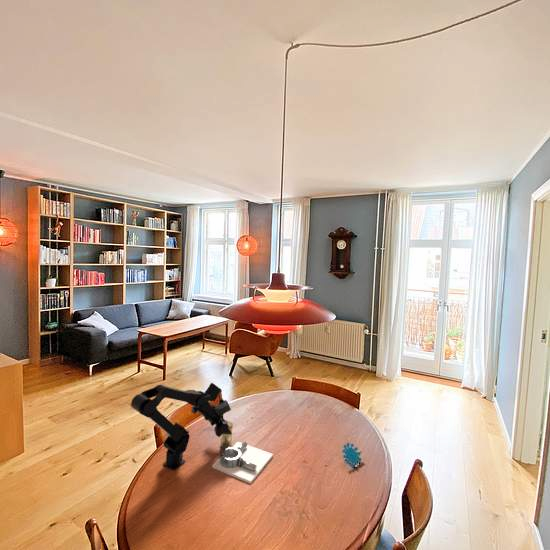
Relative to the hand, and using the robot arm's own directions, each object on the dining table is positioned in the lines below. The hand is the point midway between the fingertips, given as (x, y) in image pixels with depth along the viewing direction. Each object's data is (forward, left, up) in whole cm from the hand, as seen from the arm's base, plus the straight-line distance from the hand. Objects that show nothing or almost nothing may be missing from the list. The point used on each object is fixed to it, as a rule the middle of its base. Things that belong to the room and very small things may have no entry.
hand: (229, 430), depth 148 cm
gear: (+17, -54, -7) cm, 57 cm away
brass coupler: (-1, +1, -7) cm, 7 cm away
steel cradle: (-7, -12, -6) cm, 15 cm away
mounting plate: (-7, -12, -7) cm, 16 cm away
